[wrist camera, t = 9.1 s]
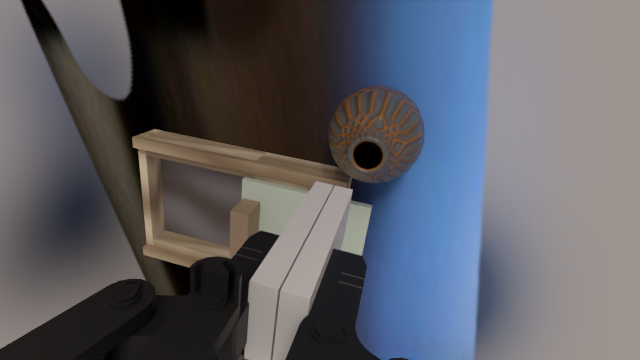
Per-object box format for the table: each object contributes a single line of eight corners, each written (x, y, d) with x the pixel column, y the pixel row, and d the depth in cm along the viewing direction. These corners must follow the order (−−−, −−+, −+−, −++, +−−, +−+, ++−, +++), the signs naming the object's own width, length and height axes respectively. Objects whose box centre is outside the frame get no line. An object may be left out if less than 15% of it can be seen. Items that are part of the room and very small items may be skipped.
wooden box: (154, 129, 34) (132, 137, 32) (353, 170, 31) (347, 183, 28) (162, 239, 40) (143, 254, 37) (332, 285, 36) (326, 305, 33)
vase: (371, 177, 31) (358, 226, 23) (322, 116, 30) (290, 144, 22) (440, 131, 28) (451, 168, 20) (388, 62, 27) (378, 72, 19)
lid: (245, 176, 31) (228, 190, 28) (372, 205, 29) (368, 223, 26) (241, 264, 35) (226, 284, 32) (353, 294, 33) (348, 318, 30)
